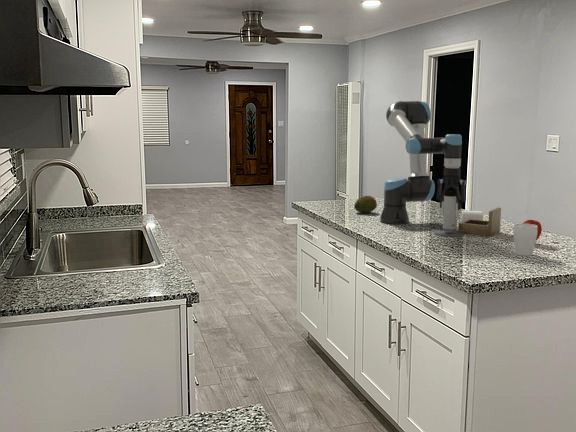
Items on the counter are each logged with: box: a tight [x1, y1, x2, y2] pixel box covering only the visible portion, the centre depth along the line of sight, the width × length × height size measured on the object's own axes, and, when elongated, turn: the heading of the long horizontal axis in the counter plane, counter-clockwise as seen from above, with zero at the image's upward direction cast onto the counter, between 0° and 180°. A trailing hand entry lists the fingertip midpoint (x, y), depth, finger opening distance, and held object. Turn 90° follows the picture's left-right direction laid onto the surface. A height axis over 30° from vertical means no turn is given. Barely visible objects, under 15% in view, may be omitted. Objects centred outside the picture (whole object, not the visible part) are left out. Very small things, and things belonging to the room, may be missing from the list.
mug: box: [460, 210, 484, 222], centre depth 299 cm, size 12×10×8 cm
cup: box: [513, 223, 537, 257], centre depth 235 cm, size 9×9×12 cm
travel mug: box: [442, 188, 460, 231], centre depth 275 cm, size 6×7×20 cm
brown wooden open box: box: [458, 207, 502, 238], centre depth 279 cm, size 16×14×12 cm
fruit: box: [353, 195, 378, 214], centre depth 339 cm, size 12×13×10 cm
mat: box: [433, 229, 466, 238], centre depth 278 cm, size 14×14×1 cm
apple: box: [522, 219, 543, 241], centre depth 255 cm, size 9×8×11 cm
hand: (450, 215), depth 276 cm, fingers closed on travel mug, 6 cm apart
